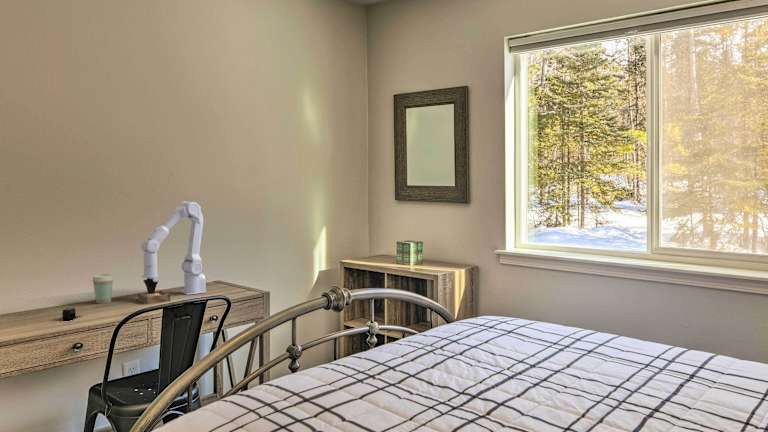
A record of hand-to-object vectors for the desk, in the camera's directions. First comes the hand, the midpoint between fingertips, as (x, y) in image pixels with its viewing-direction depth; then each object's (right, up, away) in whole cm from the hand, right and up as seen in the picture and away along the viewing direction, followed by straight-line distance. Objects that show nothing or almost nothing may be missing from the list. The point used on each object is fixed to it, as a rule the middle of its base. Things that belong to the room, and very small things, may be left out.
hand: (151, 294), depth 273 cm
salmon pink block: (+3, -3, -3) cm, 5 cm away
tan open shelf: (+2, -2, -3) cm, 4 cm away
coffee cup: (-19, -3, -7) cm, 20 cm away
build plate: (-19, -5, -36) cm, 41 cm away
